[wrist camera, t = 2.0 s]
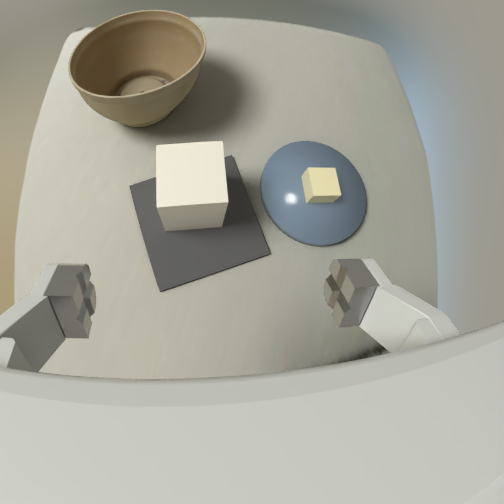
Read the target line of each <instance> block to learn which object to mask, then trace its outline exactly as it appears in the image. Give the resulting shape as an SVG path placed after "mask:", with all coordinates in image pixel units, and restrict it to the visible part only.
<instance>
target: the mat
mask: <svg viewBox="0 0 504 504" xmlns="http://www.w3.org/2000/svg"><path fill="white" fill-rule="evenodd" d="M224 161H225V172H226V182H227V192H228V206H227V209H226V213H225V217H224V221H223V224H222V227H216V228H202V229H190V230H177V231H165V229H164V226H163V224H162V221H161V218H160V215H159V213H158V210H157V202H156V177H155V178H152V179H149V180H146V181H143V182H140V183H137V184H134V185H131V186H130V190H131V194H132V198H133V202H134V206H135V210H136V213H137V217H138V221H139V224H140V228H141V231H142V235H143V238H144V242H145V245H146V249H147V252H148V255H149V259H150V262H151V265H152V268H153V271H154V275H155V278H156V281H157V284H158V287H159V290H160V292H161V291H164V290H167V289H170V288H173V287H176V286H178V285H181V284H184V283H187V282H190V281H193V280H196V279H199V278H202V277H205V276H208V275H210V274H213V273H216V272H219V271H222V270H225V269H228V268H231V267H234V266H237V265H239V264H242V263H245V262H248V261H251V260H254V259H257V258H260V257H262V256H265V255H268V254H270V252H269V249H268V247H267V244H266V242H265V239H264V236H263V234H262V231H261V229H260V226H259V223H258V221H257V218H256V216H255V213H254V211H253V208H252V205H251V203H250V200H249V198H248V195H247V193H246V190H245V188H244V185H243V182H242V180H241V177H240V175H239V172H238V170H237V167H236V165H235V162H234V160H233V157H232V155H231V156H228V157H224Z"/></svg>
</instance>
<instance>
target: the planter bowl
mask: <svg viewBox="0 0 504 504" xmlns="http://www.w3.org/2000/svg"><path fill="white" fill-rule="evenodd" d="M205 51H206V38H205V35H204V32H203V30H202V29H201V28H200V26H199V25H198V24H197V23H195V22H194V21H193V20H191V19H190V18H188V17H186V16H183V15H181V14H178V13H175V12H171V11H164V10H144V11H137V12H132V13H127V14H123V15H120V16H118V17H115V18H113V19H110V20H109V21H106V22H105V23H102V24H101V25H99V26H97V27H96V28H94V29H93V30H92V31H90V32H89V33H88V34H87V35H85V36H84V37H83V38H82V39H81V40H80V42H79V43H78V44H77V46H76V47H75V48H74V50H73V52H72V54H71V56H70V59H69V64H68V72H69V76H70V79H71V81H72V83H73V85H74V86H75V87H76V89H77V90H78V91H79V93H80V95H81V96H82V98H83V99H84V100H85V102H86V103H87V104H88V105H89V106H90V107H91V108H92V109H93V110H95V111H96V112H97V113H99V114H100V115H102V116H104V117H106V118H108V119H111V120H113V121H117V122H120V123H122V124H124V125H127V126H132V127H143V126H148V125H152V124H155V123H157V122H159V121H161V120H162V119H164V118H165V117H167V116H168V115H169V114H170V113H171V112H172V110H173V109H174V108H175V107H176V106H177V105H179V104H180V103H181V102H182V100H183V99H184V98H185V97H186V96H187V94H188V93H189V92H190V90H191V89H192V87H193V85H194V83H195V82H196V79H197V77H198V74H199V72H200V68H201V64H202V60H203V58H204V55H205ZM142 92H143V93H142Z"/></svg>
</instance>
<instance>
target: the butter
mask: <svg viewBox="0 0 504 504" xmlns="http://www.w3.org/2000/svg"><path fill="white" fill-rule="evenodd" d="M301 177H302V182H303V188H304V193H305V199H306V203H333V202H334V201H335V200H337V199H338V198H339V197H340V196H341V191H340V187H339V182H338V178H337V173H336V169H335V168H313V167H308V168H307V169H306V171H305V172H304V173H303V175H302V176H301Z"/></svg>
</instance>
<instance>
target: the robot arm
mask: <svg viewBox="0 0 504 504" xmlns="http://www.w3.org/2000/svg"><path fill="white" fill-rule="evenodd" d="M329 270H330V272H331V275H330V276H329V277H328V278H327V279H326V280H325V284H324V297H325V301H326V303H327V305H328V306H330V307H331V308H333V312H332V315H333V317H334V319H335V321H336V323H337V325H338V327H349V326H358V325H360V326H359V327H361V328H362V329H363V330H364V331H365V332H367V333H368V334H369V335H370V336H371V337H373V338H374V339H375V340H376V341H377V342H379V343H380V344H381V345H382V346H383V347H384V348H386V349H387V350H388V351H389V352H390V353H389V354H384V355H380V356H375V357H370V358H365V359H360V360H355V361H349V362H343V363H338V364H332V365H325V366H319V367H312V368H305V369H298V370H290V371H282V372H273V373H263V374H253V375H241V376H228V377H211V378H187V379H122V378H99V377H83V376H70V375H59V374H50V373H41V372H38V371H39V370H40V369H41V368H42V367H43V365H44V364H45V363H46V362H47V360H48V359H49V358H50V357H51V356H52V354H53V353H54V352H55V351H56V350H57V349H58V347H59V346H60V345H61V344H62V343H63V342H64V340H65V338H88V337H89V333H90V329H91V325H92V322H91V319H90V316H91V315H92V314H94V312H95V308H96V292H95V288H94V285H93V284H92V283H91V282H90V281H89V279H90V276H91V272H90V269H89V266H88V265H87V264H63V263H60V264H59V263H48V264H46V265H45V266H44V268H43V270H42V272H41V274H40V276H39V278H38V280H37V282H36V284H35V286H34V288H33V290H32V292H31V294H30V296H28V295H26V296H25V297H24V298H22V299H21V300H20V301H18V302H17V303H16V304H14V305H13V306H12V307H11V308H9V309H8V310H7V311H6V312H4V313H3V314H2V315H0V504H504V321H501V322H498V323H496V324H492V325H490V326H487V327H484V328H481V329H478V330H474V331H471V332H468V333H465V334H462V335H460V334H459V332H458V331H457V329H456V328H455V326H454V325H453V324H452V322H451V321H450V319H449V318H448V317H447V315H446V314H445V313H443V312H441V311H440V310H438V309H436V308H435V307H433V306H431V305H430V304H428V303H426V302H425V301H423V300H421V299H419V298H418V297H416V296H414V295H413V294H411V293H409V292H407V291H406V290H404V289H402V288H401V287H399V286H397V285H392V284H391V282H390V281H389V279H388V278H387V277H386V275H385V274H384V273H383V271H382V270H381V269H380V267H379V266H378V265H377V263H376V262H375V261H374V260H373V259H372V258H358V259H338V260H333V261H332V262H331V264H330V267H329Z"/></svg>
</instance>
